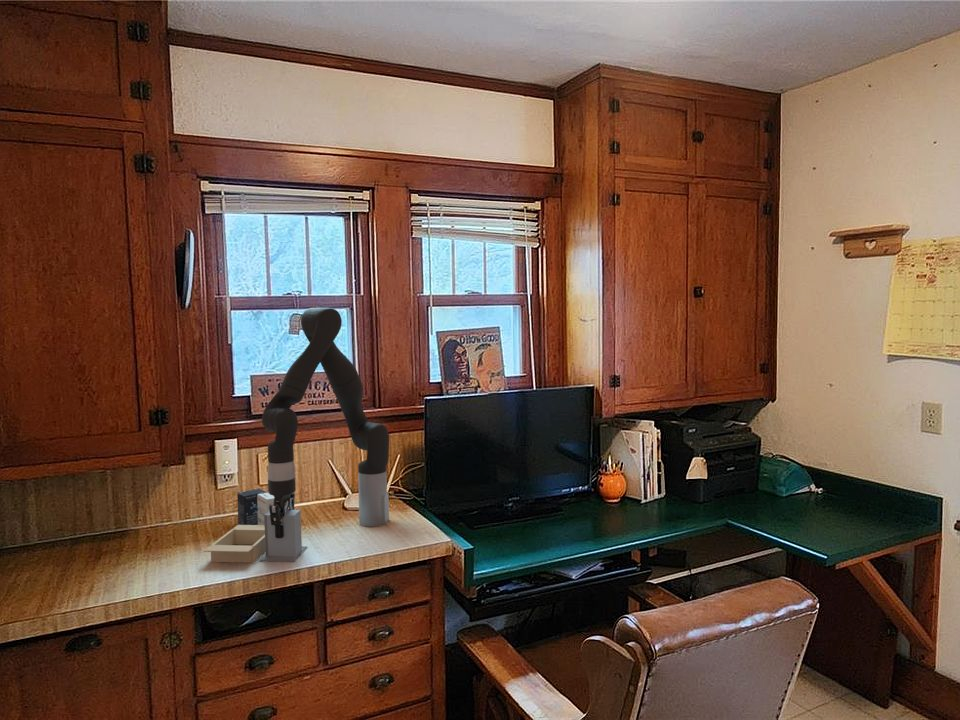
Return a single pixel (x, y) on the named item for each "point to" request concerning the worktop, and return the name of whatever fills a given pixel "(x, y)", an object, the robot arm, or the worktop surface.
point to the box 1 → (248, 507)
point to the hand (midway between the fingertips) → (283, 533)
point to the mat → (281, 557)
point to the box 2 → (292, 535)
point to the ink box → (263, 505)
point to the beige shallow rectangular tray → (239, 535)
